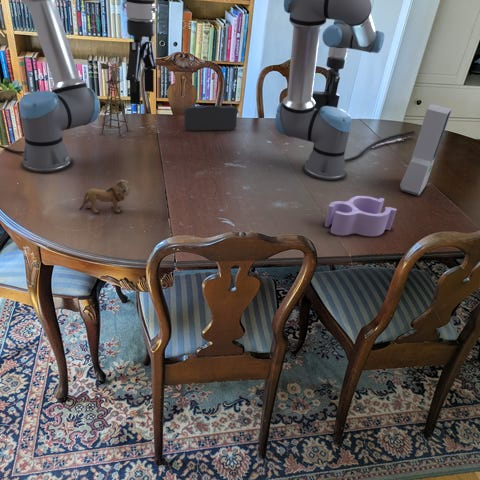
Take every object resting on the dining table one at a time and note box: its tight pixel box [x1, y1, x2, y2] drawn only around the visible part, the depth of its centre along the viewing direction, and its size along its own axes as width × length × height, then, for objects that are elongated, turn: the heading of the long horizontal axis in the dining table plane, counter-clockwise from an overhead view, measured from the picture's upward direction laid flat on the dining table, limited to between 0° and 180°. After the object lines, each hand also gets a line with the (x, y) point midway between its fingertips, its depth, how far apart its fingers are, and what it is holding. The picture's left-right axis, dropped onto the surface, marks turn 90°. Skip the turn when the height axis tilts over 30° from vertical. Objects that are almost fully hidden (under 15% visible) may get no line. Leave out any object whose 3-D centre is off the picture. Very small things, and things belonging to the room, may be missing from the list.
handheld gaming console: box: [183, 105, 239, 132], centre depth 200 cm, size 23×3×10 cm, turn 108°
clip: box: [324, 195, 398, 237], centre depth 141 cm, size 20×12×7 cm, turn 109°
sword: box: [371, 136, 412, 150], centre depth 209 cm, size 31×3×1 cm, turn 126°
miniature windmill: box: [100, 54, 130, 138], centre depth 181 cm, size 9×8×30 cm
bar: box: [285, 88, 340, 110], centre depth 202 cm, size 22×4×9 cm, turn 91°
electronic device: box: [399, 103, 452, 197], centre depth 162 cm, size 12×8×30 cm, turn 148°
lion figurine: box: [78, 179, 131, 214], centre depth 135 cm, size 15×5×9 cm, turn 110°
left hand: (142, 97), depth 139 cm, fingers open, 13 cm apart
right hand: (326, 112), depth 205 cm, fingers closed on bar, 4 cm apart
